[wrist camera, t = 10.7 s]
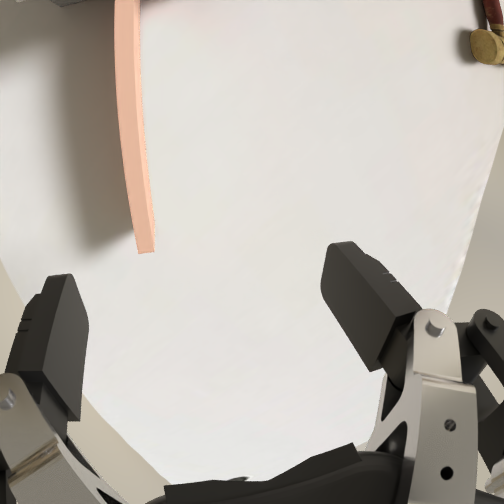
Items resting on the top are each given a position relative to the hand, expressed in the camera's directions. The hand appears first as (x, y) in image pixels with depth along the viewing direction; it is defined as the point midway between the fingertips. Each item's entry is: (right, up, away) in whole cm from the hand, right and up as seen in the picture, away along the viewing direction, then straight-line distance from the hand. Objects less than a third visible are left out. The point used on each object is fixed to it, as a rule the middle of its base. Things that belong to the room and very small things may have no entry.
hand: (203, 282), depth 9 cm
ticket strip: (-7, +13, +11) cm, 19 cm away
